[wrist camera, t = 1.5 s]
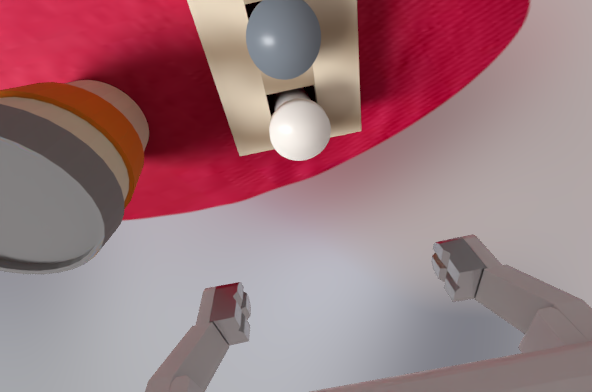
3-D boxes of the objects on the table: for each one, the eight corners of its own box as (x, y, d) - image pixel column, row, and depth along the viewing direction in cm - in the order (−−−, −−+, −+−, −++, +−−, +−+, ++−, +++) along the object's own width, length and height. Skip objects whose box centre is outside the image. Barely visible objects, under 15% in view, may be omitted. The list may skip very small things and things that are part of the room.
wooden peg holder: (168, -107, 20) (140, -137, 16) (328, -144, 20) (350, -186, 15) (242, 131, 32) (239, 156, 27) (345, 109, 32) (361, 130, 27)
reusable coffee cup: (133, 49, 26) (26, 98, 14) (183, 164, 34) (141, 261, 22) (0, 71, 26) (-223, 140, 14) (80, 181, 33) (-20, 288, 21)
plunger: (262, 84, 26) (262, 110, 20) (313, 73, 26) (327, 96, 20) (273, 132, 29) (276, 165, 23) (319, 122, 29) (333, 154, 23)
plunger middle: (241, 0, 22) (236, 3, 16) (301, -14, 22) (316, -15, 16) (257, 65, 25) (256, 86, 19) (310, 53, 25) (325, 71, 19)
